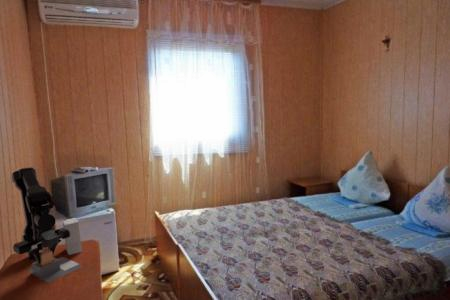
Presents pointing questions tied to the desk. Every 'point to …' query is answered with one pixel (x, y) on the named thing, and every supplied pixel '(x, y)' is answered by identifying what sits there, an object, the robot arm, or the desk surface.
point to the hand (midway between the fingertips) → (45, 260)
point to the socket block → (54, 269)
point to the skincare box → (72, 236)
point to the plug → (45, 256)
